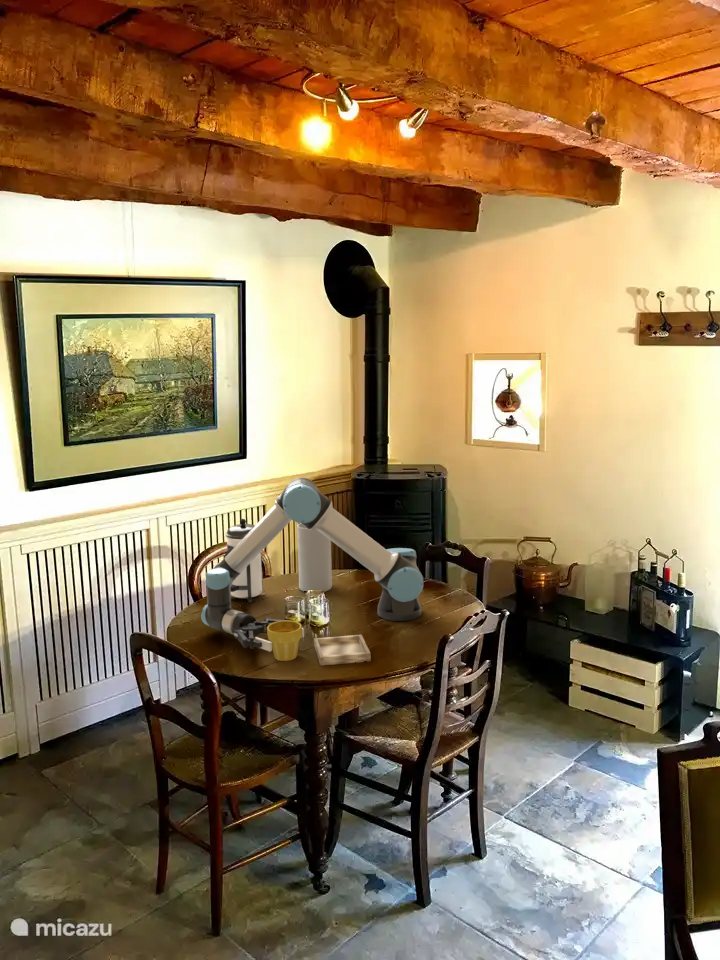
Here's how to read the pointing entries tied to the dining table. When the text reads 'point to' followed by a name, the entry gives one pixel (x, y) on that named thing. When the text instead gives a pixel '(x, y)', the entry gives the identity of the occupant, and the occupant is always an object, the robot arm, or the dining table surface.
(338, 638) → the birch tray
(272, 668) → the dining table surface
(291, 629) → the plant pot
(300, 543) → the cylinder vase
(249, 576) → the coffee press
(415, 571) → the robot arm
